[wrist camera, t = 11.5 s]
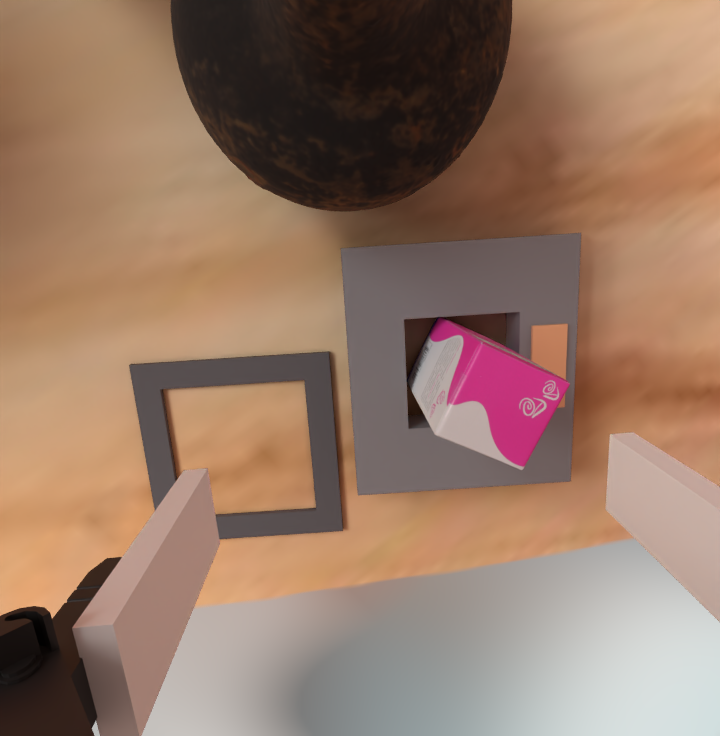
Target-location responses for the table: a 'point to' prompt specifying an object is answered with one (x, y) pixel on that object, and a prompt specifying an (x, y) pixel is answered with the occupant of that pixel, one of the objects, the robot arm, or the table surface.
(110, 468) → the table surface
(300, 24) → the glass bottle
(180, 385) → the flat grey square frame
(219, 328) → the table surface
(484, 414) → the supplement box
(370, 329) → the socket plate
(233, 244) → the table surface
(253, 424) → the table surface
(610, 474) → the robot arm
